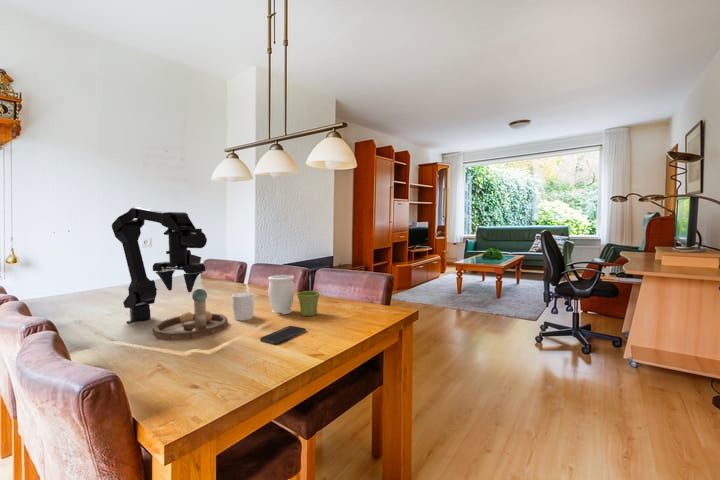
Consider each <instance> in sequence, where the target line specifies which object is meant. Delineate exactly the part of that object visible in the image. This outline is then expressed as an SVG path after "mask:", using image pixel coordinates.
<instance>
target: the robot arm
mask: <svg viewBox="0 0 720 480" xmlns="http://www.w3.org/2000/svg"><path fill="white" fill-rule="evenodd" d="M145 221H149V222H154V223H159V224H161V226H163V227H165V228H166V229H167V230H165V231H164V232H163V235H165V236H167V237H168V250H167V251H166V253H165V254H166V255H168V257H169V258H168V259H169V261H160V262H154V264H153V265H152V271H153V272H155V274H157V276H158V277H159V278H160V279H161V281H162V283H163V284H164V286H165V287H166V289H167V290H168V291H172V290H173V275H174V273H175V272H176V271H183V272H184V273H183V275H182V276H183V278H184V282H185V285H186V289H187V292H188V293H193V292H192V291H193V289H194V285H195V283H196V280H197V278H198V277H199V275H201V274H203V272H206V265H205V264H204V263H201V260H202V257H201V256H199V255H195V254H191V253H192V252H191V251H192V250H191V249H203V248H205V246H206V245H207V242H208V239H207V236H206V234H205V233H204V232H203V231H202V230H203V229H202V228H196V227H195V225H194V223H193V221H191V218H189V214H188V213H187V212H183V211H182V212H180V211H179V212H178V211H177V212H176V211H167V212H165V211H160V210H155V209H154V210H153V209H148V208H145V207H131V208H130V209H129V210H128V211H127V212H125V213H123V214H121V215H118V217H117V218H116V219H115V220H114V222H113V223H112V224H111V230H112V231H113V235H114V237H115V238H116V239H117V240H118V241H119V242H120V243H121V244H122V247H123V253H124V255H125V256H124V257H125V260H126V264H127V268H128V272H129V277H130V280H131V282H130V284H129V286H128V289H127V291H128V295H127V296H126V298H125V299H124V301H123V302H122V303H123V308H125V309H129V316H130V317H129V318H130V319H129V320H127V321H126V323H127V324H134V323H137V322H147V321H149V320H151V317H152V316H151V309H150V308H151V307H150V306H151V304H155V301H156V297H157V291H158V288H157V287H156V282H155V280H154V279H153V280H152V279H150V278H149V277H148V276H147V271H146V268H145V264H144V260H143V255H142V252H141V247H140V244H139V238H140V236H141V235H142V232H141V228H142V227H143V226H144V225H145Z"/></svg>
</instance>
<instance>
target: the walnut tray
mask: <svg viewBox="0 0 720 480" xmlns="http://www.w3.org/2000/svg"><path fill="white" fill-rule="evenodd" d="M192 314H193V316H194V318H193V321H189V322H185V323H184V324H183V323H182V322H181V321H180V316H181V315H179V316H173V317H170V318H166V319H164V320H161V321H158V323H156V324H155V325H154V326H152V334H153V335H154V337H155V338H156V339H160V340H161V339H162V340H168V341H169V340H170V341H174V340H175V341H176V340H191V339H196V338H202V337H206V336H210V335H213V334H216V333H218V332H220V331H222V330H224V329H226V327H227V325H228V323H229V322H228V319H229V318H228V317H227V316H225V315H224V314H223V313H222V314H220V313H214V312H213V313H212V312H211V314H212V319H211V320H210V321H209V322H207V323H206V327H209V328H205V329H200V330H195V331H192V330H193V329H194V328H195V313H192Z"/></svg>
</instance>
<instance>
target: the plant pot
mask: <svg viewBox="0 0 720 480" xmlns="http://www.w3.org/2000/svg"><path fill="white" fill-rule="evenodd" d="M320 295H321V292H320V291H316V290H308V291H307V290H304V291H299V292H297V293H296V296H297V298H298V302H299V306H300V315H301V316H302V317H303V316H304V317H306V316H308V317H312V316H316V315H317V313H318V305H319V304H318V303H319V298H320Z"/></svg>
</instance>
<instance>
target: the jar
mask: <svg viewBox="0 0 720 480" xmlns="http://www.w3.org/2000/svg"><path fill="white" fill-rule="evenodd" d="M294 278H295V276H294V275H292V274H291V275H290V274H276V275H270V276H268V278H267V279H268V281H269V283H268V289H267V290H268V292H267V293H268V299H269V303H270V306H271V308H272V310H271V313H277V314H280V313H281V314H280V315H279V316H282V315H288V314H291V313H292V312H293V310H292V306H293V303H294V298H295V297H294V296H295V284H294V281H293V280H294Z"/></svg>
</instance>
